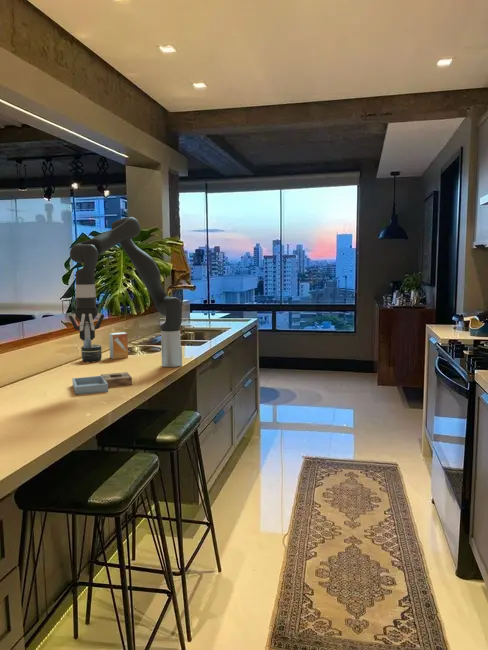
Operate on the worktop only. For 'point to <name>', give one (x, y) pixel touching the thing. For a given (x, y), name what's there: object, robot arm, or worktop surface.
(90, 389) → the tray
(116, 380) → the plate
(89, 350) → the jar
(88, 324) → the pin
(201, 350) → the worktop surface
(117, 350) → the small box
